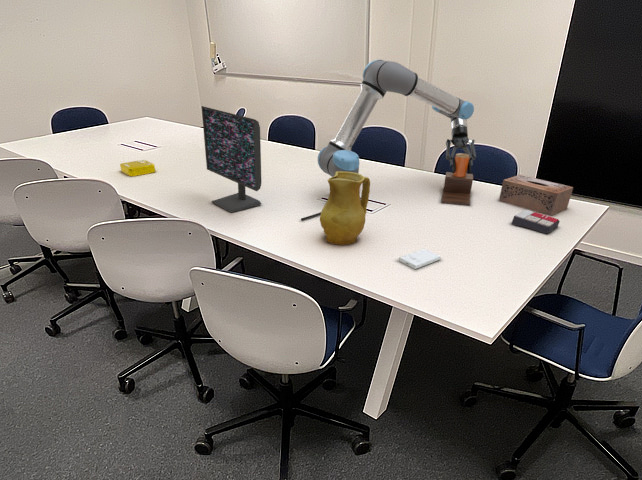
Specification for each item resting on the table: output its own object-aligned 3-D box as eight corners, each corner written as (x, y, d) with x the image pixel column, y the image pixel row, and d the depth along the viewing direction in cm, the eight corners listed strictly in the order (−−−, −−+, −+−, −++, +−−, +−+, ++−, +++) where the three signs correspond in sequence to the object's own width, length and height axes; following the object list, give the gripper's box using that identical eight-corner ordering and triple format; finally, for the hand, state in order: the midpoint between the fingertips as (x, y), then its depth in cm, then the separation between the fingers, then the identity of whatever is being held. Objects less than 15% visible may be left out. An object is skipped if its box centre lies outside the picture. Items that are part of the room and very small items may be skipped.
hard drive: (440, 260, 157) (415, 269, 151) (422, 252, 163) (398, 260, 157) (440, 256, 157) (416, 265, 150) (423, 248, 162) (398, 256, 156)
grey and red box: (550, 226, 176) (514, 214, 184) (546, 235, 178) (511, 224, 187) (560, 218, 182) (525, 208, 191) (557, 228, 185) (522, 217, 193)
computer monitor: (198, 196, 216) (186, 107, 195) (227, 189, 225) (219, 104, 204) (246, 221, 188) (238, 121, 167) (277, 213, 197) (273, 116, 176)
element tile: (120, 171, 253) (118, 162, 250) (145, 166, 261) (144, 158, 259) (130, 177, 243) (128, 168, 241) (156, 172, 252) (155, 163, 249)
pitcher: (317, 229, 180) (320, 167, 166) (362, 230, 182) (370, 169, 168) (319, 248, 166) (324, 182, 152) (369, 249, 167) (378, 184, 154)
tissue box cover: (566, 208, 203) (573, 187, 198) (551, 215, 196) (557, 193, 190) (514, 194, 220) (519, 174, 215) (498, 200, 213) (503, 179, 207)
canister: (466, 177, 215) (470, 156, 210) (451, 176, 217) (455, 155, 212) (466, 173, 221) (470, 153, 216) (452, 172, 222) (455, 152, 217)
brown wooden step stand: (469, 205, 206) (473, 187, 202) (441, 203, 209) (443, 185, 205) (469, 190, 226) (473, 174, 221) (443, 188, 229) (446, 171, 224)
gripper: (476, 134, 224) (479, 176, 218) (437, 134, 224) (439, 175, 218) (482, 125, 216) (485, 168, 211) (441, 125, 217) (443, 167, 211)
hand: (461, 172), depth 215 cm, fingers closed on canister, 7 cm apart
